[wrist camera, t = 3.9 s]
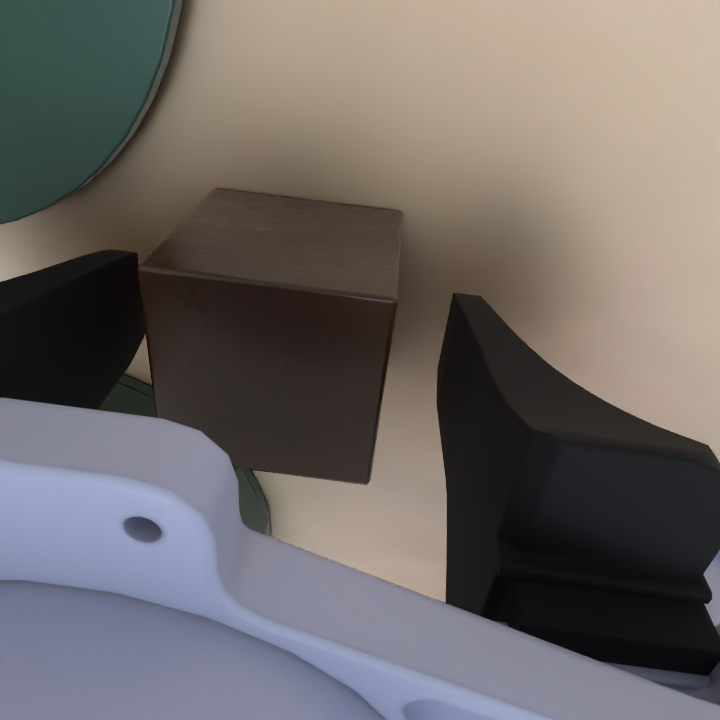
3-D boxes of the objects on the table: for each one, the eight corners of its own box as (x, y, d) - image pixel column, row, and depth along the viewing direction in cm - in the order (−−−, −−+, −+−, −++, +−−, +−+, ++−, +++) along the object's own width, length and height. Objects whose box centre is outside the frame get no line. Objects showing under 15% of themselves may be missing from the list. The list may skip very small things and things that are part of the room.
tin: (274, 384, 16) (216, 547, 12) (269, 636, 23) (231, 801, 19) (-166, 327, 16) (-395, 465, 12) (-39, 593, 23) (-152, 746, 19)
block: (403, 210, 13) (397, 299, 10) (381, 368, 16) (369, 487, 12) (213, 186, 13) (134, 266, 10) (219, 347, 16) (160, 459, 12)
